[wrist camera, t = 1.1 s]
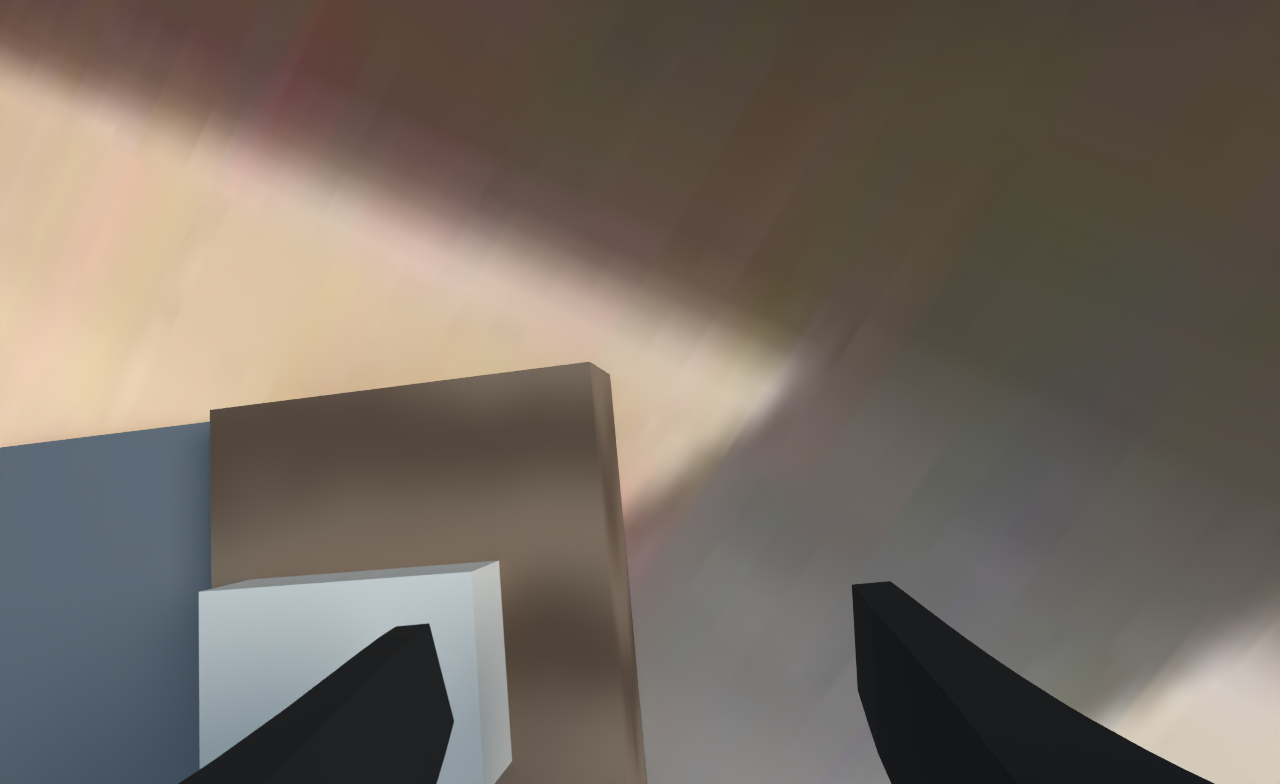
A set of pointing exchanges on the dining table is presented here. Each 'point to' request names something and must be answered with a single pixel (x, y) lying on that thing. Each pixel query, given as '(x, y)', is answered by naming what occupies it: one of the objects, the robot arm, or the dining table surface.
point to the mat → (103, 606)
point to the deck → (461, 532)
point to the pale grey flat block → (355, 651)
